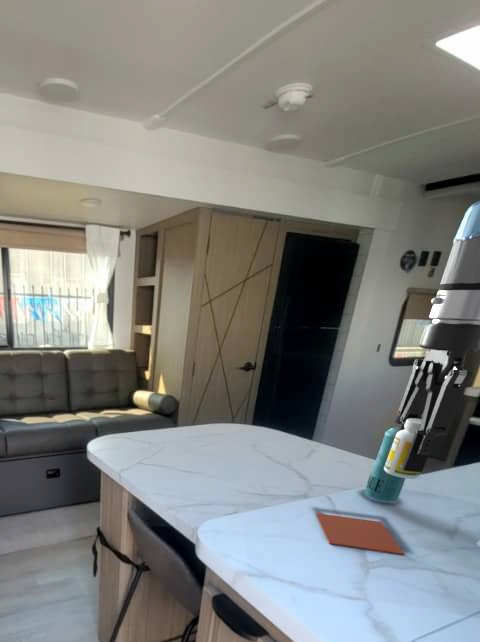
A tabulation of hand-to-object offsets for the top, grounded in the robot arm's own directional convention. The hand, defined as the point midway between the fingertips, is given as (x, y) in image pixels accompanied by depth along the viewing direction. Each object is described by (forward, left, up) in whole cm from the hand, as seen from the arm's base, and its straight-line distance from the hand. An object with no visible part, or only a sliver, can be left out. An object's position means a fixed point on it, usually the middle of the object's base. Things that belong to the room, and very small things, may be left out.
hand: (404, 464), depth 72 cm
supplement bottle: (0, 0, -2) cm, 2 cm away
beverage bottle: (-5, -16, -14) cm, 22 cm away
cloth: (+4, +1, -14) cm, 15 cm away
